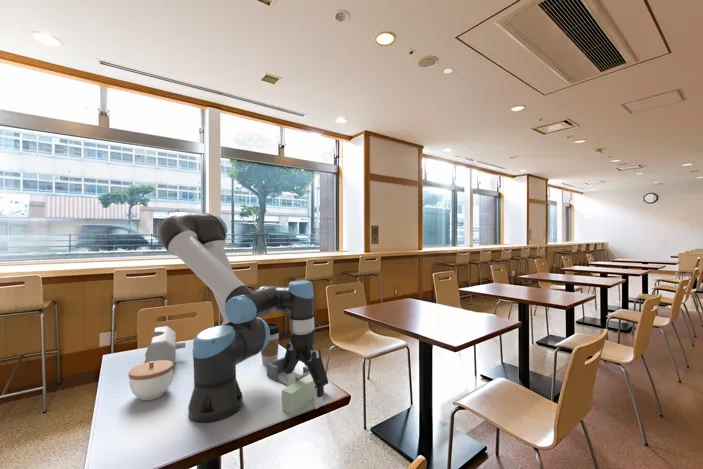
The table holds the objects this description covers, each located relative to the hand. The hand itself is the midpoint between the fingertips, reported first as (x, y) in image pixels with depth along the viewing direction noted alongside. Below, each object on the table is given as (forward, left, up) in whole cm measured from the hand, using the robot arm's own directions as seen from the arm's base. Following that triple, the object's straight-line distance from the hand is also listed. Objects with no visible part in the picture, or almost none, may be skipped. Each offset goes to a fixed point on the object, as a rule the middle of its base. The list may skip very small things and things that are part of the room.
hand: (304, 399), depth 101 cm
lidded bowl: (-30, +42, 0) cm, 52 cm away
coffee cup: (+10, +34, 0) cm, 36 cm away
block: (0, 0, 0) cm, 0 cm away
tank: (-18, +69, -1) cm, 72 cm away
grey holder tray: (+6, +15, 0) cm, 16 cm away
